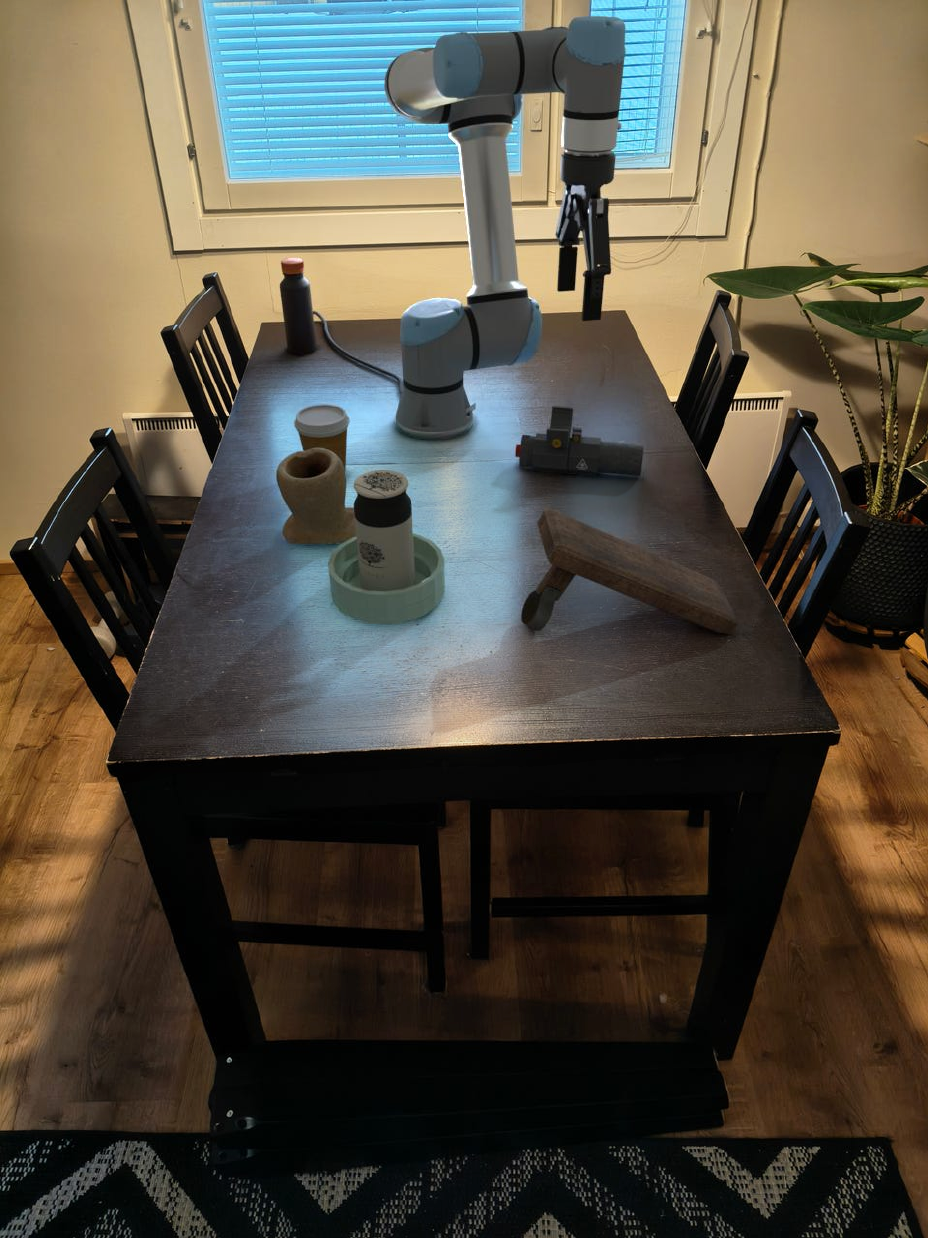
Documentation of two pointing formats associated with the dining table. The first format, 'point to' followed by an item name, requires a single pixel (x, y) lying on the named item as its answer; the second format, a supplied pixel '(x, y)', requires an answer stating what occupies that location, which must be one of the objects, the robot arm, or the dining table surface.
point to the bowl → (387, 603)
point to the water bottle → (297, 307)
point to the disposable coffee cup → (323, 429)
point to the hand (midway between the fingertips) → (578, 304)
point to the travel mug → (384, 531)
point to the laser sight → (576, 450)
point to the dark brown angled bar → (621, 575)
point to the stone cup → (315, 498)
